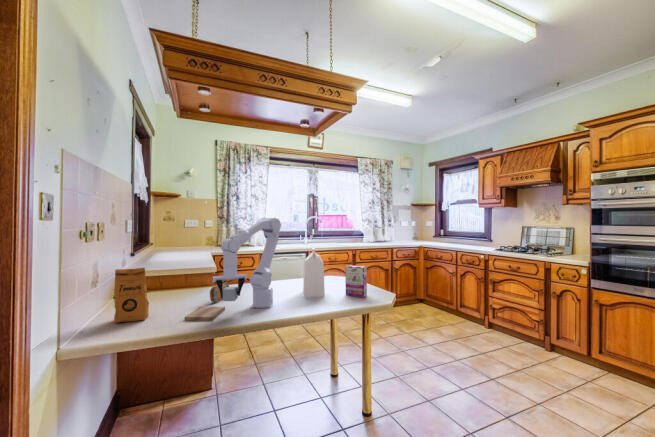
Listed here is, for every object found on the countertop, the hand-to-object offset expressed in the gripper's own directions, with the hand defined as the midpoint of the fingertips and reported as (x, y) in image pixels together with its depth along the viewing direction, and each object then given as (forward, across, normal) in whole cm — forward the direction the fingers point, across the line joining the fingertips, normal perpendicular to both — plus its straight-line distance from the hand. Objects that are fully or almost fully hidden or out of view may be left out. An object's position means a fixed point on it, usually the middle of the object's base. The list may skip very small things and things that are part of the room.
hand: (230, 296), depth 128 cm
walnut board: (+8, +10, -4) cm, 14 cm away
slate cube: (+1, 0, 0) cm, 1 cm away
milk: (+9, -47, -18) cm, 51 cm away
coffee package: (+9, +39, -11) cm, 41 cm away
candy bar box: (+9, -67, -6) cm, 68 cm away
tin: (+9, +3, -28) cm, 29 cm away
